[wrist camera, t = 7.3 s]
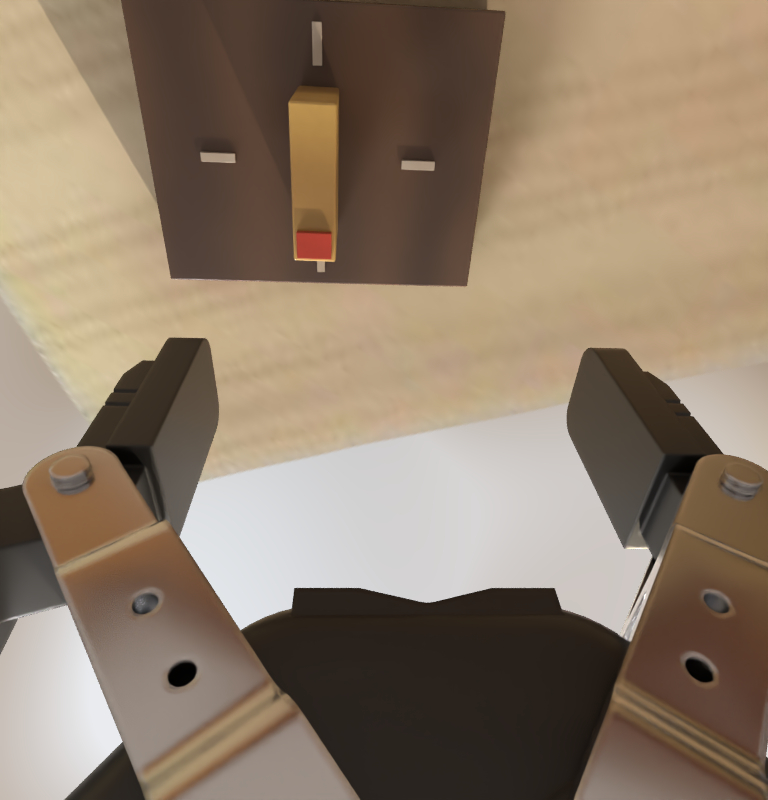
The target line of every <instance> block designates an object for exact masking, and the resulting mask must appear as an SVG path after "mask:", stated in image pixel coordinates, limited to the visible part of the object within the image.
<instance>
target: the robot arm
mask: <svg viewBox="0 0 768 800" xmlns="http://www.w3.org/2000/svg"><path fill="white" fill-rule="evenodd" d="M690 414H691V413H690V412H689V411H688V409H687V408H686V407H685V406H684V404H680V399H679V398H678V397H677V396H676V394H675V393H674V392H673V391H672V389H671V388H670V387H669V386H668V385H667V384H666V383H664V382H663V381H661V380H660V379H658V378H657V377H655V376H654V375H652V374H651V373H649V372H643V371H642V369H641V368H640V367H639V366H638V364H637V363H636V362H635V360H634V359H633V358H632V356H631V355H630V354H629V353H628V351H627V350H625V349H619V348H588V349H587V350H586V351H585V352H584V354H583V356H582V359H581V362H580V366H579V369H578V373H577V377H576V380H575V384H574V387H573V391H572V394H571V398H570V401H569V405H568V409H567V427H568V432H569V435H570V437H571V439H572V441H573V444H574V446H575V448H576V450H577V452H578V454H579V456H580V458H581V460H582V462H583V464H584V466H585V468H586V471H587V472H588V475H589V477H590V479H591V481H592V483H593V485H594V487H595V489H596V491H597V493H598V496H599V498H600V500H601V502H602V503H603V506H604V508H605V510H606V512H607V514H608V516H609V518H610V520H611V523H612V525H613V527H614V529H615V531H616V533H617V535H618V537H619V539H620V541H621V543H622V545H623V547H624V548H625V549H649V550H650V552H651V554H652V558H651V560H650V562H649V564H648V566H647V568H646V571H645V573H644V576H643V578H642V581H641V583H640V586H639V588H638V591H637V593H636V596H635V598H634V601H633V603H632V605H631V608H630V611H629V613H628V616H627V618H626V620H625V623H624V625H623V628H622V630H621V633H620V635H618V634H617V633H615V632H614V631H612V630H610V629H608V628H607V627H605V626H603V625H601V624H599V623H597V622H595V621H593V620H591V619H589V618H586V617H584V616H581V615H578V614H575V613H572V612H569V611H566V610H562V609H561V606H560V603H559V600H558V597H557V594H556V591H555V589H554V588H490V589H486V590H482V591H478V592H474V593H470V594H466V595H461V596H457V597H453V598H449V599H445V600H441V601H436V602H431V603H424V602H418V601H414V600H409V599H405V598H401V597H396V596H392V595H387V594H383V593H378V592H374V591H370V590H366V589H361V588H294V596H293V604H292V609H289V610H285V611H281V612H278V613H275V614H273V615H270V616H267V617H265V618H262V619H260V620H258V621H256V622H254V623H252V624H250V625H249V626H247V627H245V628H244V629H242V630H240V629H239V628H238V626H237V625H236V623H235V622H234V620H233V619H232V617H231V615H230V614H229V613H228V611H227V609H226V608H225V606H224V605H223V603H222V602H221V600H220V599H219V597H218V596H217V594H216V593H215V591H214V589H213V588H212V586H211V585H210V583H209V582H208V580H207V579H206V577H205V576H204V574H203V573H202V571H201V570H200V568H199V566H198V565H197V564H196V562H195V560H194V559H193V557H192V556H191V554H190V553H189V551H188V550H187V548H186V547H185V545H184V544H183V542H182V541H181V539H180V537H179V536H180V533H181V531H182V528H183V525H184V522H185V519H186V516H187V513H188V510H189V507H190V504H191V501H192V499H193V495H194V493H195V490H196V487H197V484H198V481H199V478H200V475H201V473H202V470H203V467H204V464H205V461H206V458H207V455H208V452H209V449H210V446H211V444H212V441H213V438H214V435H215V432H216V429H217V425H218V417H219V402H218V395H217V388H216V382H215V375H214V368H213V362H212V355H211V349H210V345H209V342H208V340H207V339H205V338H168V339H167V341H166V342H165V344H164V346H163V348H162V349H161V351H160V353H159V354H158V356H157V358H156V359H155V361H144V360H143V361H141V362H140V363H139V364H137V365H136V366H134V367H133V368H131V369H130V370H128V371H127V372H126V373H124V374H123V376H122V377H121V379H120V380H119V382H118V383H117V385H116V386H115V388H114V393H111V394H110V396H109V397H108V399H107V400H106V402H105V406H103V407H102V408H101V410H100V411H99V413H98V414H97V416H96V417H95V419H94V420H93V422H92V424H91V425H90V427H89V428H88V430H87V431H86V433H85V434H84V436H83V438H82V439H81V441H80V442H79V444H78V445H77V447H75V448H71V449H66V450H63V451H60V452H57V453H55V454H52V455H51V456H48V457H47V458H45V459H43V460H42V461H40V462H39V463H37V464H36V465H35V466H34V467H33V468H32V469H31V470H30V471H29V472H28V473H27V475H26V477H25V479H24V481H23V484H22V485H18V486H14V487H9V488H4V489H0V654H1V652H2V650H3V648H4V646H5V644H6V642H7V640H8V638H9V636H10V634H11V632H12V630H13V628H14V626H15V624H16V622H17V619H18V618H21V617H24V616H28V615H32V614H35V613H39V612H43V611H46V610H50V609H54V608H58V607H61V606H65V605H68V607H69V610H70V612H71V615H72V617H73V620H74V622H75V624H76V627H77V630H78V632H79V635H80V637H81V640H82V642H83V644H84V647H85V649H86V652H87V654H88V657H89V659H90V662H91V664H92V667H93V669H94V672H95V674H96V677H97V679H98V682H99V684H100V687H101V689H102V691H103V694H104V696H105V699H106V701H107V704H108V706H109V709H110V711H111V714H112V716H113V719H114V721H115V723H116V726H117V728H118V731H119V733H120V736H121V738H122V741H123V742H122V743H121V744H120V745H119V746H118V747H117V748H116V749H115V750H114V751H113V752H112V753H111V754H110V755H109V756H108V757H107V758H106V759H105V760H104V761H103V762H102V763H101V764H100V765H99V766H98V767H97V768H96V769H95V770H94V771H93V772H92V773H91V774H90V775H89V776H88V777H87V778H86V779H85V780H84V781H83V782H82V783H81V784H80V785H79V786H78V787H77V788H76V789H75V790H74V791H73V792H72V793H71V794H70V795H69V796H68V797H67V798H66V799H65V800H768V758H767V757H766V752H767V744H768V471H767V470H765V469H764V468H762V467H761V466H759V465H757V464H755V463H753V462H750V461H748V460H745V459H742V458H739V457H735V456H731V455H724V454H723V453H722V452H721V450H720V449H719V448H718V447H717V445H716V444H715V443H714V442H713V440H712V439H711V438H710V437H709V435H708V434H707V433H706V432H705V430H704V429H703V428H702V427H701V426H700V424H699V423H698V422H697V421H696V419H695V418H694V417H692V416H690Z"/></svg>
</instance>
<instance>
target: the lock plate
mask: <svg viewBox="0 0 768 800" xmlns="http://www.w3.org/2000/svg"><path fill="white" fill-rule="evenodd" d="M121 2H122V8H123V13H124V19H125V24H126V30H127V36H128V41H129V47H130V52H131V58H132V63H133V69H134V75H135V80H136V86H137V91H138V97H139V102H140V108H141V113H142V119H143V125H144V130H145V136H146V141H147V147H148V152H149V158H150V164H151V169H152V175H153V180H154V186H155V191H156V197H157V203H158V208H159V214H160V219H161V225H162V230H163V236H164V241H165V247H166V253H167V258H168V264H169V269H170V275H171V279H186V280H224V281H263V282H302V283H340V284H379V285H417V286H456V287H466V286H467V282H468V275H469V268H470V261H471V254H472V247H473V240H474V233H475V226H476V219H477V212H478V204H479V197H480V190H481V183H482V176H483V169H484V162H485V155H486V148H487V141H488V134H489V127H490V120H491V113H492V105H493V98H494V91H495V84H496V77H497V70H498V63H499V56H500V49H501V42H502V35H503V28H504V21H505V11H497V10H479V9H462V8H445V7H428V6H411V5H393V4H376V3H359V2H342V1H325V0H121ZM298 86H316V87H333V88H338V89H339V158H338V230H337V245H336V260H335V261H334V262H329V261H303V260H295V259H294V248H293V220H292V192H291V164H290V135H289V107H288V103H289V100H290V99H291V97H292V96H293V94H294V93H295V91H296V89H297V88H298Z"/></svg>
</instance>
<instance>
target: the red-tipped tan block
mask: <svg viewBox="0 0 768 800" xmlns="http://www.w3.org/2000/svg"><path fill="white" fill-rule="evenodd" d="M288 107H289V135H290V164H291V192H292V220H293V248H294V259H295V260H303V261H329V262H334V261H335V260H336V245H337V230H338V158H339V89H338V88H333V87H316V86H298V88H297V89H296V91H295V93H294V94H293V96H292V97H291V99H290V100H289V103H288Z"/></svg>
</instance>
